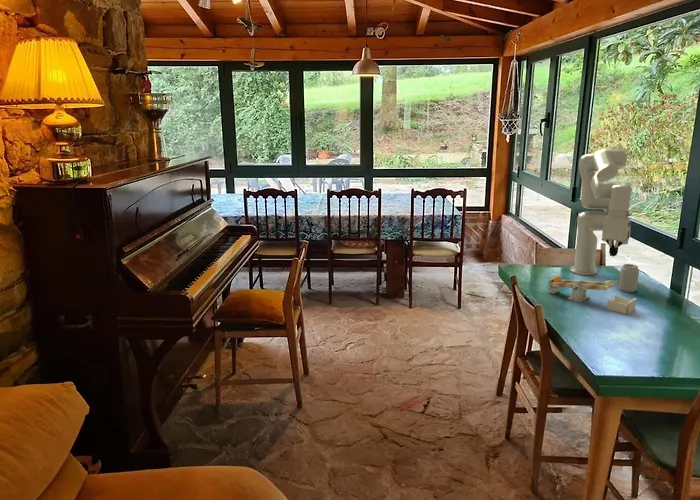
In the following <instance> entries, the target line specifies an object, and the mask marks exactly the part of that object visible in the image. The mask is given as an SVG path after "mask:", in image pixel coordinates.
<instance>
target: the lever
mask: <svg viewBox="0 0 700 500" xmlns="http://www.w3.org/2000/svg"><path fill="white" fill-rule="evenodd" d="M548 284H549V286H550V287H560V288H564V289H565V288H566V289H567V288H568V289H572V288H573V284H575V285H580V286H581V287H580V289H587V290H595V291H607V290H609V289H610V288H613V287H615V286H617V285H619V280H611V279H610V280H609V279H608V280H605V281H604V282H603V281H602V282H600V281H587V280H586V281H585V280H570V279H562V281H561V282H560V283H559V282H554V281H553V278H551V279H549V280H548ZM549 286H548V287H549Z"/></svg>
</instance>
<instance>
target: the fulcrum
mask: <svg viewBox="0 0 700 500" xmlns="http://www.w3.org/2000/svg"><path fill="white" fill-rule="evenodd" d="M580 287H581V286H580V285H575V284H573V288H571V290H572V291H571V295H570V296H568V297H567V300H569V301H572V302H576V303H580V304H582V303H583V302H585V301H587V300H588V299H590V296H589V295H587V290H588V289H580ZM560 290H561V287H550V286H548V292H547V293H548V294H552V295H556V294H558V293H560Z"/></svg>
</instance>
